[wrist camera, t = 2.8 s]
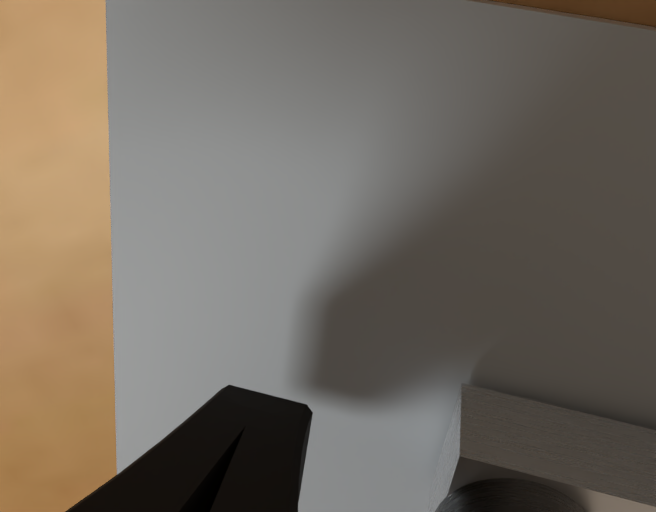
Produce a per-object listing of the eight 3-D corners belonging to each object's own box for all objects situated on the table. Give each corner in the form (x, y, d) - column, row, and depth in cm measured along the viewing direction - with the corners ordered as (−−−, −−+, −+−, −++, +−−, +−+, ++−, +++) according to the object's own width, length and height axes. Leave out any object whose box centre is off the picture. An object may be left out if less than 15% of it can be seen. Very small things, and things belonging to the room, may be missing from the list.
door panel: (750, 715, 13) (826, 921, 10) (144, 535, 15) (67, 668, 12) (1232, 119, 7) (1715, 213, 4) (147, -55, 9) (0, -67, 6)
